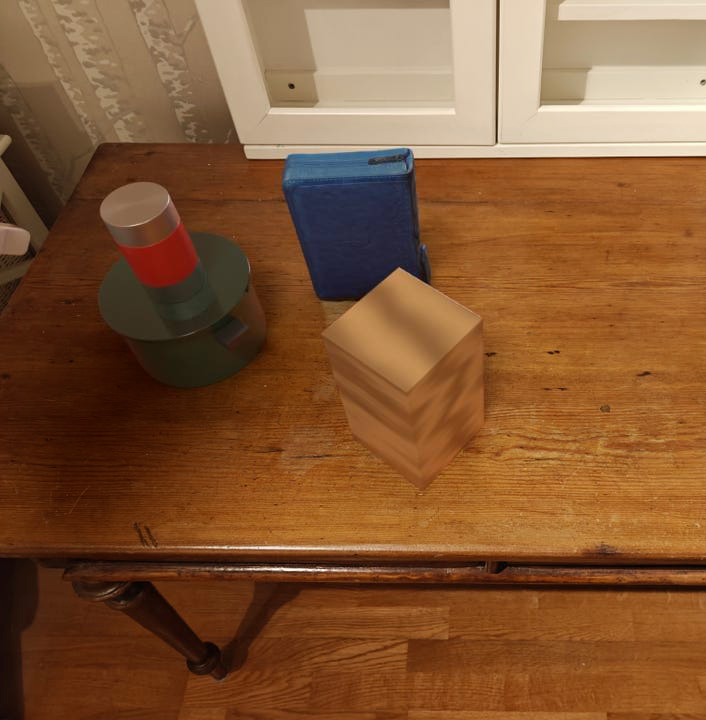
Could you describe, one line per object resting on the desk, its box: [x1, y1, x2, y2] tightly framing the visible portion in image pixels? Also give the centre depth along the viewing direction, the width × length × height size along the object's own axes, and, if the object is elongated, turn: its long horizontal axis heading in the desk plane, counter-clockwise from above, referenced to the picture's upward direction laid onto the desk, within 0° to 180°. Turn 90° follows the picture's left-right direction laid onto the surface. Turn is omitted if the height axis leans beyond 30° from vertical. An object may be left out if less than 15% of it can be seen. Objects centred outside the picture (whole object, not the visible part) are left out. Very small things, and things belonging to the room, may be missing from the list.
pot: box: [97, 230, 268, 389], centre depth 79 cm, size 16×20×9 cm
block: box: [320, 268, 485, 492], centre depth 68 cm, size 10×10×18 cm
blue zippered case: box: [281, 147, 432, 301], centre depth 79 cm, size 14×5×20 cm, turn 94°
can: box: [99, 181, 206, 304], centre depth 71 cm, size 6×6×11 cm
